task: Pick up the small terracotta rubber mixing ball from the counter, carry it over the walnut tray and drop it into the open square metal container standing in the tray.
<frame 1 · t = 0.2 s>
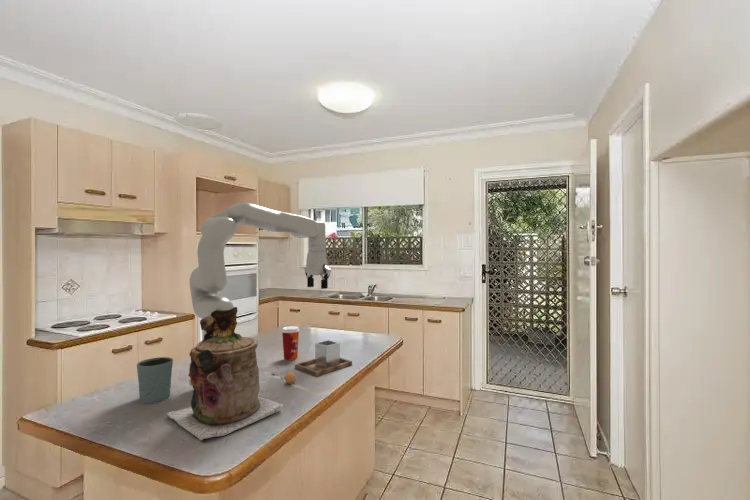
hand: (317, 287, 164), 31 cm above the table, tool pointing down, fingers open, 9 cm apart
mixing ball: (290, 383, 133), on the table
walnut tray: (323, 368, 148), on the table
paper cup: (290, 360, 160), on the table
teal cup: (155, 398, 121), on the table
cookie jar: (225, 415, 108), on the table
square metal container: (327, 365, 150), point 1 cm above the table, touching walnut tray
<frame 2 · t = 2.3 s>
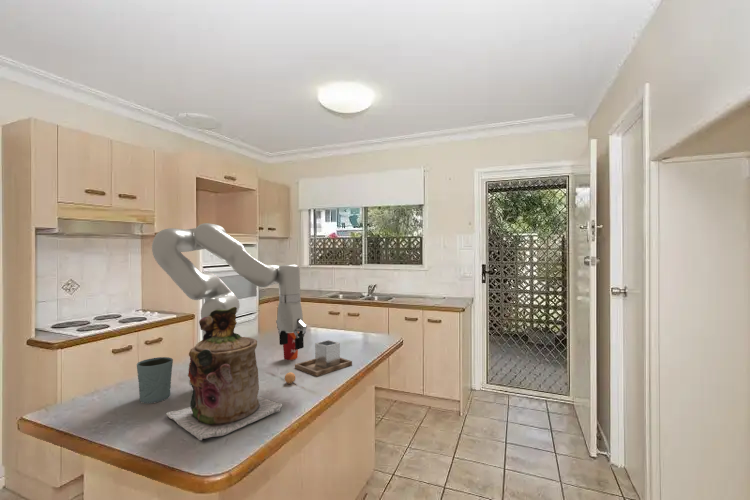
hand: (291, 346, 133), 13 cm above the table, tool pointing down, fingers open, 9 cm apart
nothing on the table moved.
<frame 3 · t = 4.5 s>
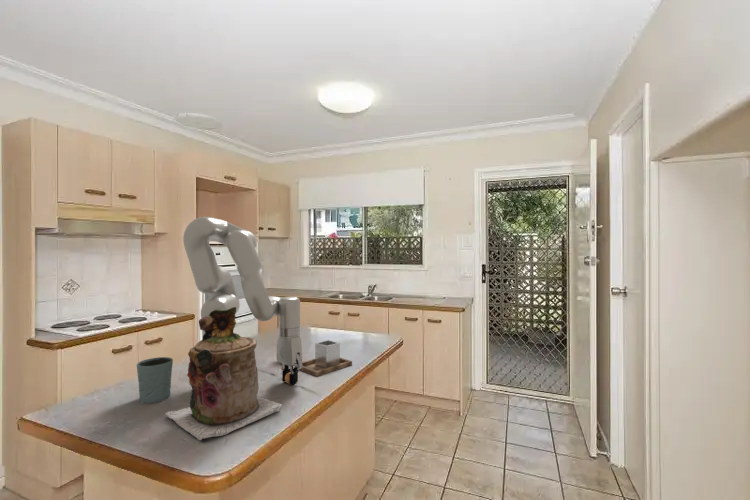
hand: (290, 381, 133), 0 cm above the table, tool pointing down, fingers closed on mixing ball, 3 cm apart
mixing ball: (290, 383, 133), on the table, touching gripper
everything else where it was.
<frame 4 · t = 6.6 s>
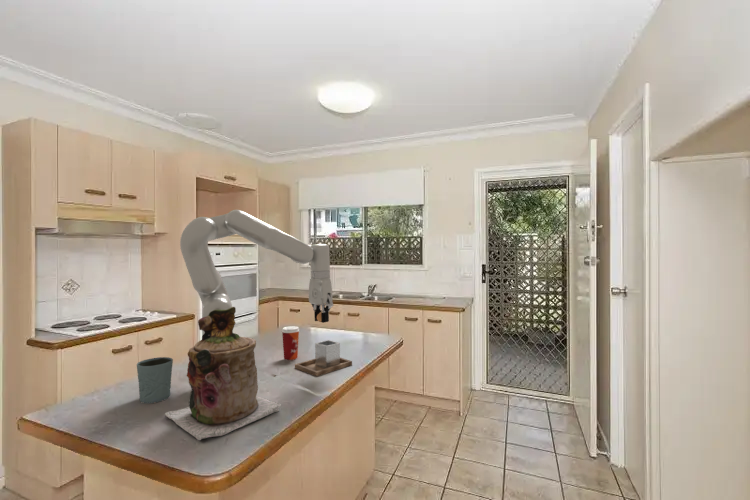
hand: (321, 320, 146), 20 cm above the table, tool pointing down, fingers closed on mixing ball, 3 cm apart
mixing ball: (321, 322, 146), point 19 cm above the table, touching gripper
everything else where it was.
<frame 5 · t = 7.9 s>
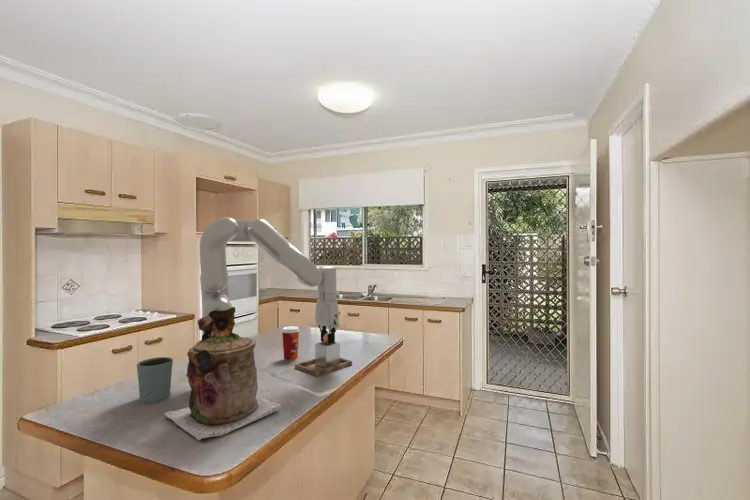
hand: (327, 341, 150), 11 cm above the table, tool pointing down, fingers closed on mixing ball, 3 cm apart
mixing ball: (327, 342, 150), point 10 cm above the table, touching gripper
everything else where it was.
when the fingers open (10 cm above the table, at t = 8.6 s): mixing ball drops 8 cm, resting on square metal container.
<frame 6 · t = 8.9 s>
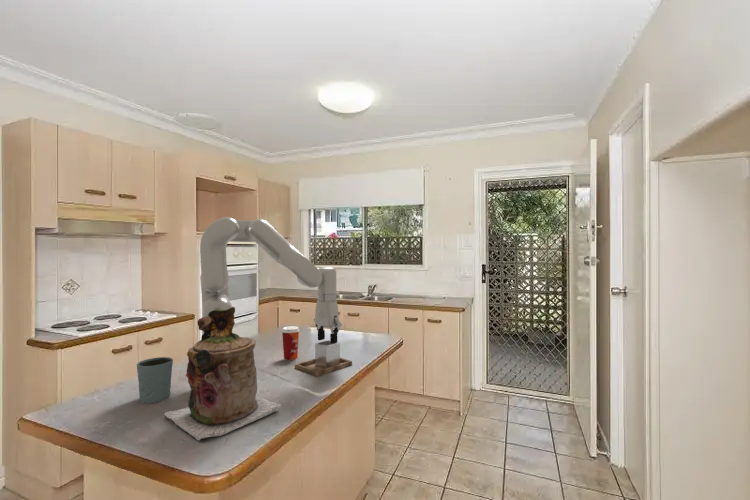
hand: (327, 341, 149), 11 cm above the table, tool pointing down, fingers open, 7 cm apart
mixing ball: (327, 363, 150), point 2 cm above the table, touching square metal container
square metal container: (327, 365, 150), point 1 cm above the table, touching mixing ball, walnut tray
everything else where it was.
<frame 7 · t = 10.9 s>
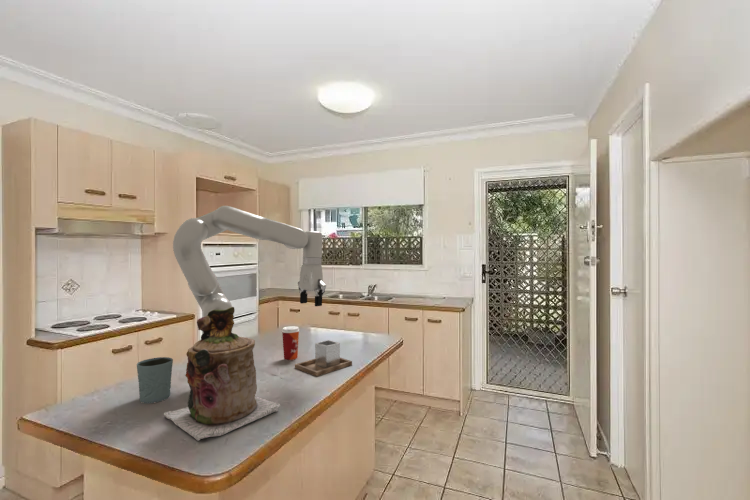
hand: (310, 304, 148), 26 cm above the table, tool pointing down, fingers open, 9 cm apart
nothing on the table moved.
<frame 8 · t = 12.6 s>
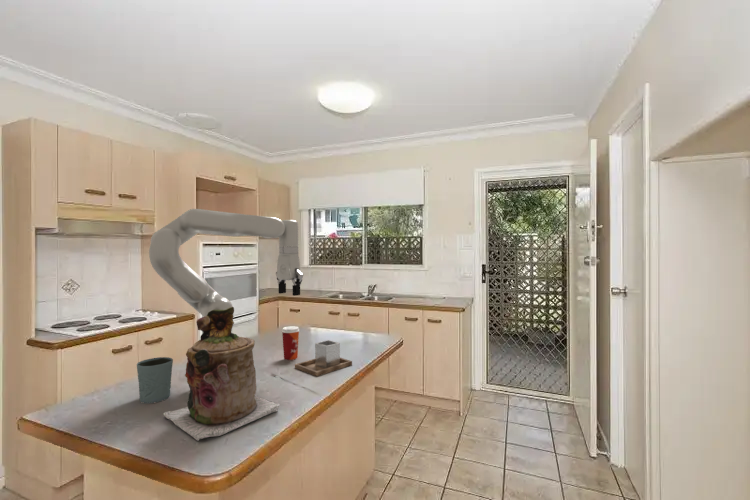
hand: (289, 294, 147), 30 cm above the table, tool pointing down, fingers open, 9 cm apart
nothing on the table moved.
at the end: mixing ball 0.0 cm off-centre on the square metal container, point 0.6 cm above the square metal container's base; square metal container tilted 0°; the gripper is holding nothing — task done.
